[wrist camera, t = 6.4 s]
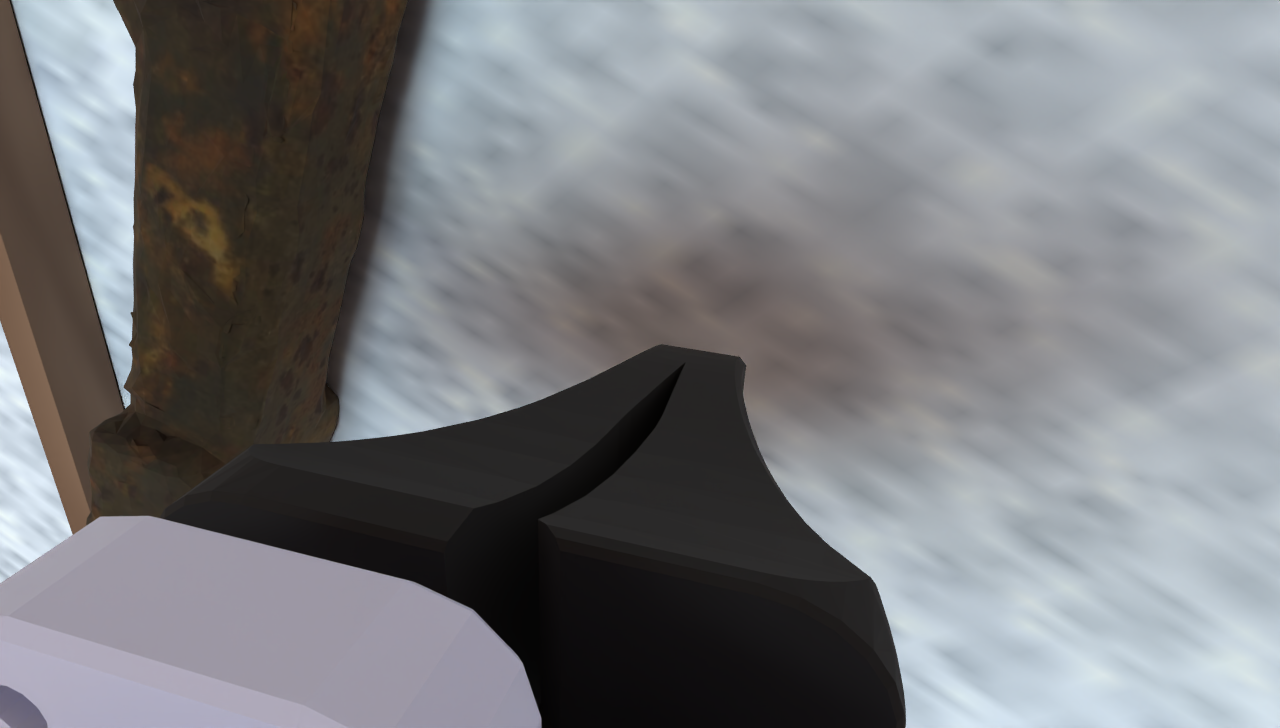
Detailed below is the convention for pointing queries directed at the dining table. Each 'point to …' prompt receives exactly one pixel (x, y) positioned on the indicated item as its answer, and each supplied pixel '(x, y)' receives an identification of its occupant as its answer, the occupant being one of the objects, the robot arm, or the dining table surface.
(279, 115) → the hand tool
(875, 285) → the dining table surface
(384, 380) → the dining table surface
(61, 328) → the tool bay
